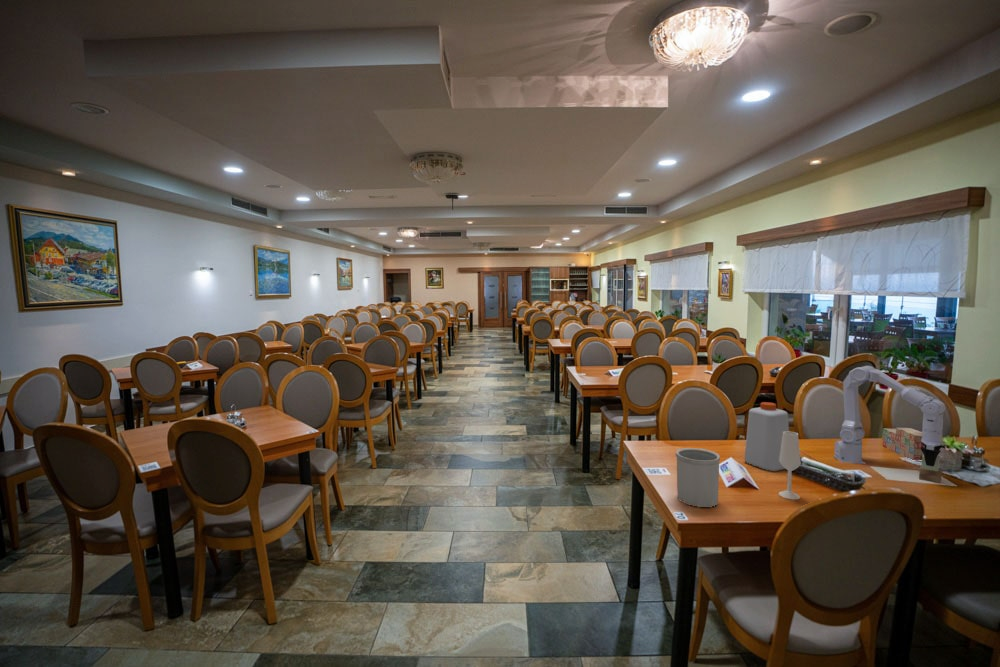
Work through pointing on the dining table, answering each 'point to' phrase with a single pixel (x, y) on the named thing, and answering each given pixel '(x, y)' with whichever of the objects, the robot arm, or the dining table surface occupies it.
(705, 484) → the utensil holder
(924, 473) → the walnut base block
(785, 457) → the champagne flute
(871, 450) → the dining table surface
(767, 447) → the plastic bottle
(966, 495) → the dining table surface
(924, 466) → the green block
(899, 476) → the white flat sheet
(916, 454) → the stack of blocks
